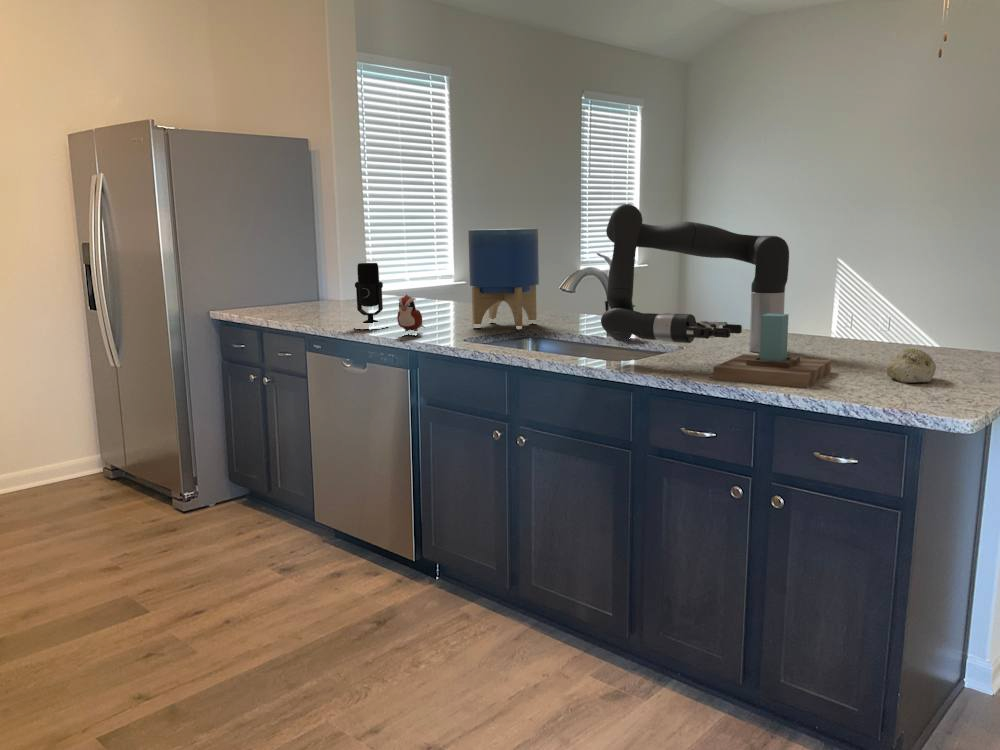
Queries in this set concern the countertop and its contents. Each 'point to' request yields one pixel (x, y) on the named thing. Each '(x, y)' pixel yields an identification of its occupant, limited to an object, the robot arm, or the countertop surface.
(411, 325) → the toy
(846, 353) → the countertop surface
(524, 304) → the planter
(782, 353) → the pillar
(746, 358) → the plinth
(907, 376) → the decorative item
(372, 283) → the microphone
